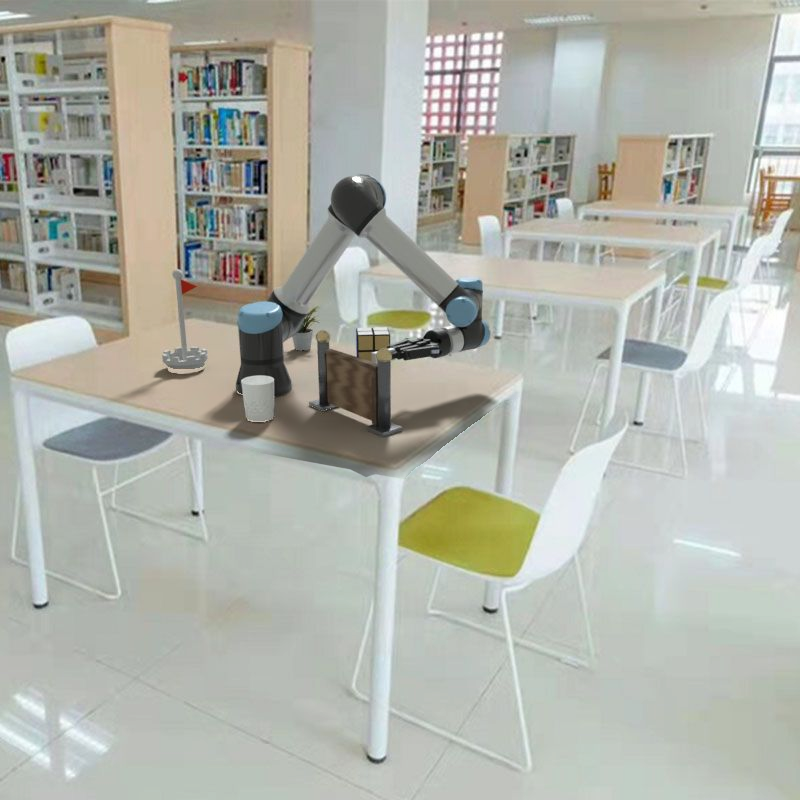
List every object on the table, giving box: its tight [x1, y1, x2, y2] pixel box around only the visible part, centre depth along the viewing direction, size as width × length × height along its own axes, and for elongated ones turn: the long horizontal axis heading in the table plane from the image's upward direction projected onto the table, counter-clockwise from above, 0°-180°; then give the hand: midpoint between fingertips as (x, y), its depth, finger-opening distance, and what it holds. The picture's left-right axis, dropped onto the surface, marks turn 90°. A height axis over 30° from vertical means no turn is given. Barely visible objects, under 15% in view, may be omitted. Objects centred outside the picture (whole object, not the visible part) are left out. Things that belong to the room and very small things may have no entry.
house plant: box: [291, 302, 322, 352], centre depth 250 cm, size 14×14×16 cm
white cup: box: [241, 375, 275, 421], centre depth 188 cm, size 8×8×10 cm
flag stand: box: [161, 269, 209, 369], centre depth 226 cm, size 13×13×30 cm
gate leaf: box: [325, 348, 378, 425], centre depth 187 cm, size 20×2×14 cm, turn 41°
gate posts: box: [308, 329, 403, 438], centre depth 187 cm, size 30×6×20 cm, turn 41°
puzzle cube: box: [355, 326, 391, 362], centre depth 237 cm, size 10×10×10 cm
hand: (373, 358), depth 189 cm, fingers closed
